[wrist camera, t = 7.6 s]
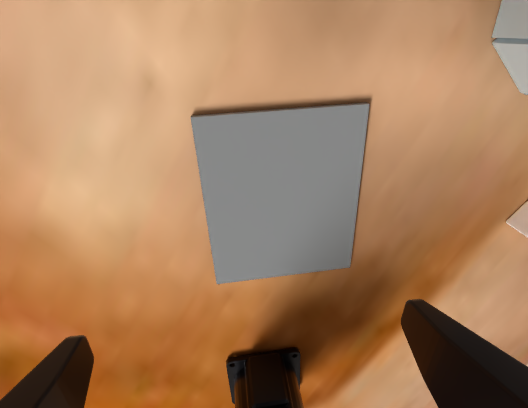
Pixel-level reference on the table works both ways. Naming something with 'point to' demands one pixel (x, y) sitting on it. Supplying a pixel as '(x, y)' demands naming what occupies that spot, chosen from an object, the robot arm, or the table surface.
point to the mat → (281, 188)
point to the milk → (520, 219)
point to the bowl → (513, 40)
